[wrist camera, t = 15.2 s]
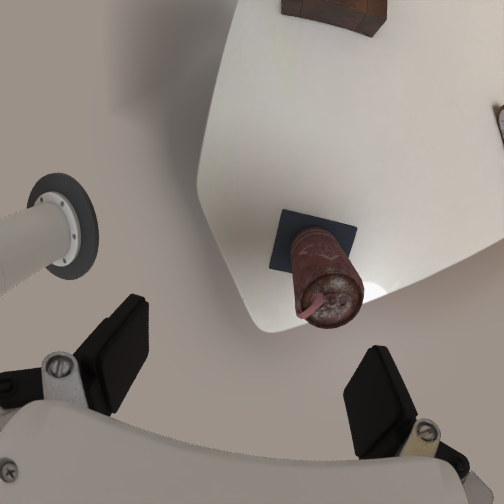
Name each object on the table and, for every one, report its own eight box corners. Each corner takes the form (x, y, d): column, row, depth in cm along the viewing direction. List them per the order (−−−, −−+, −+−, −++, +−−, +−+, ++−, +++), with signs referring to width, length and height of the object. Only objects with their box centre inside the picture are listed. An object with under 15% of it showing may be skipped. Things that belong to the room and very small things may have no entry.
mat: (269, 266, 37) (269, 268, 36) (282, 209, 34) (282, 210, 33) (339, 281, 36) (339, 283, 36) (356, 227, 34) (357, 228, 33)
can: (278, 246, 35) (277, 301, 22) (317, 215, 33) (342, 253, 20) (307, 279, 36) (319, 345, 23) (345, 251, 34) (379, 305, 21)
